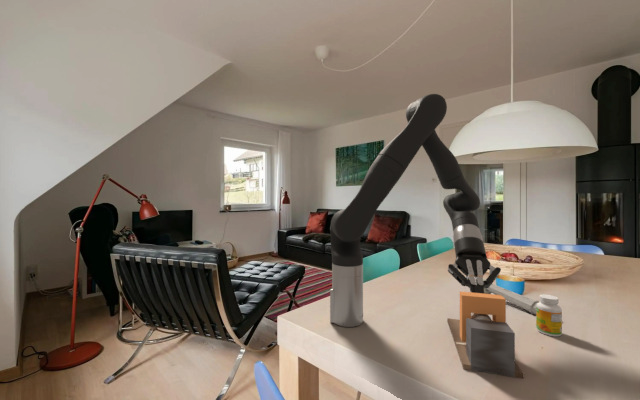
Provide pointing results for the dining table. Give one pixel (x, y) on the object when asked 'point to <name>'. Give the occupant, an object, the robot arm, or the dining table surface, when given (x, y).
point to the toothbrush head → (513, 298)
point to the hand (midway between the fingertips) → (479, 301)
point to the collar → (480, 308)
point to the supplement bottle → (549, 316)
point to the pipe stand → (486, 345)
